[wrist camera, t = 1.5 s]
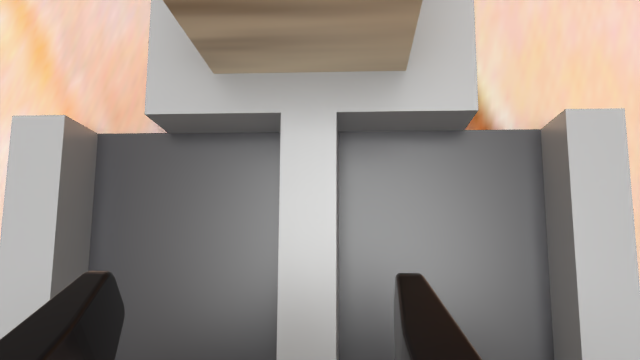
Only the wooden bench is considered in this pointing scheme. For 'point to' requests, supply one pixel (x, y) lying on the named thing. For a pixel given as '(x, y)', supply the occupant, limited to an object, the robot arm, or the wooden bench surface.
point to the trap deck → (328, 211)
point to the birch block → (299, 34)
